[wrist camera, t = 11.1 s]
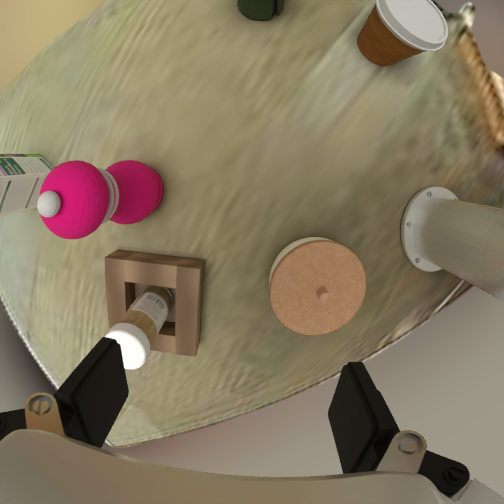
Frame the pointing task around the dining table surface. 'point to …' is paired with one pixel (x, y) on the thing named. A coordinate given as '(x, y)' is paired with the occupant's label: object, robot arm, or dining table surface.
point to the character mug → (260, 8)
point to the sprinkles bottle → (142, 325)
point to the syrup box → (21, 181)
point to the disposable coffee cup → (401, 30)
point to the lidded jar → (316, 285)
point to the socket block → (166, 275)
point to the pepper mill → (97, 196)
